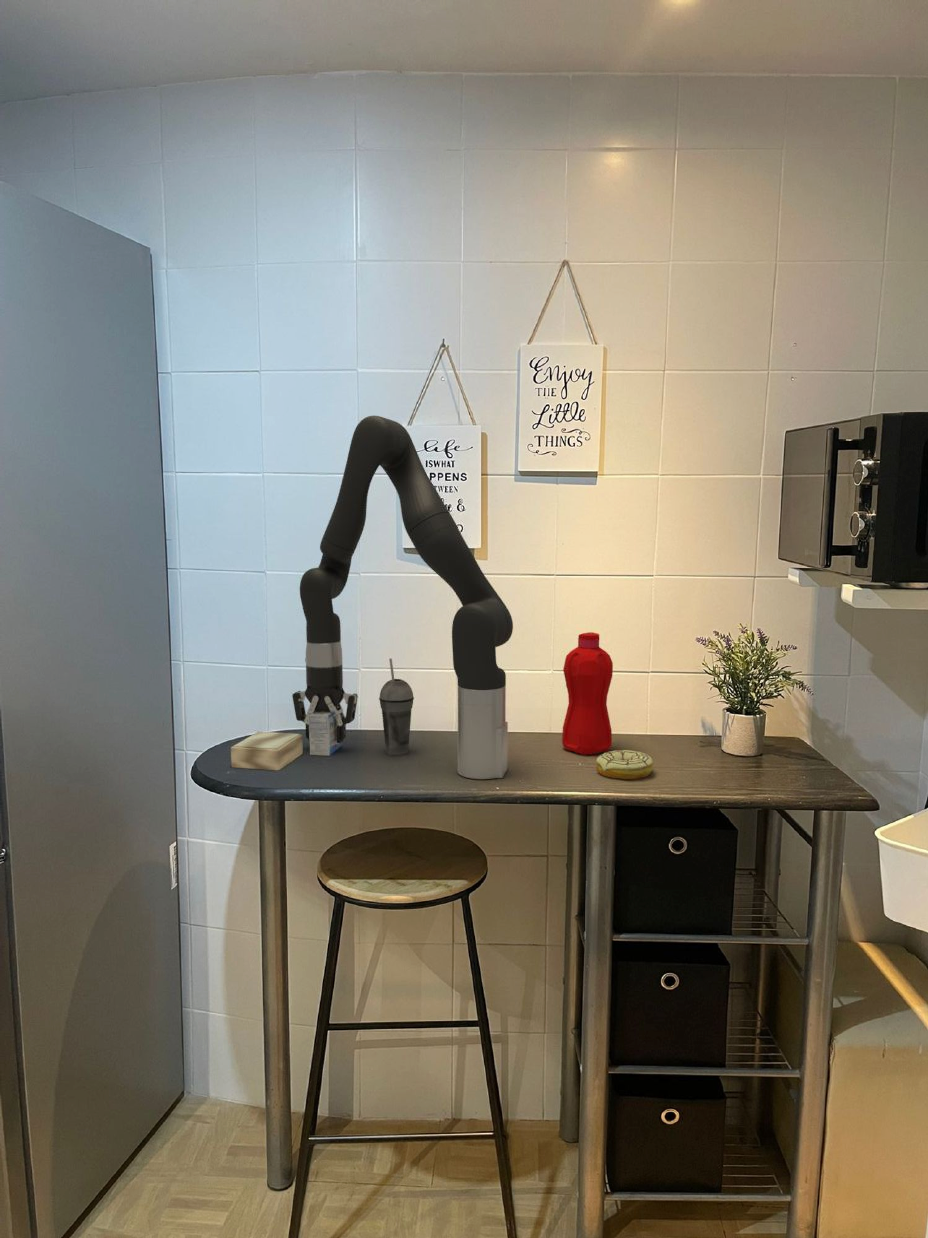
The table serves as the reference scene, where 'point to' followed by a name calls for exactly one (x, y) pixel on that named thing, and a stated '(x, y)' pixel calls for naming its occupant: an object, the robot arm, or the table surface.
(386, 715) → the beverage cup
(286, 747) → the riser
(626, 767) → the decorated donut
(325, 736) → the medicine box
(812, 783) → the table surface
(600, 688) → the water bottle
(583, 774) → the table surface
